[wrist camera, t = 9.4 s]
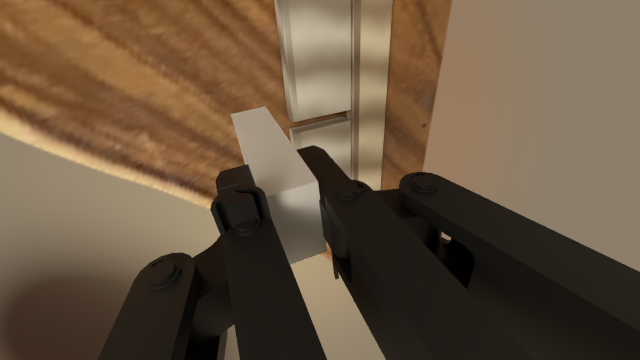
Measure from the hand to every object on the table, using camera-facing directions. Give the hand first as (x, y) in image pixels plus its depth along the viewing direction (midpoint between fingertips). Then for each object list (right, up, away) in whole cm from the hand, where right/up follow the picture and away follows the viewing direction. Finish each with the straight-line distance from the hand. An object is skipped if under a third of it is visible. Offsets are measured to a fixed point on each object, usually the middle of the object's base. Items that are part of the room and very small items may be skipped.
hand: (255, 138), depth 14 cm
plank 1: (+2, +13, +22) cm, 26 cm away
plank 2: (+3, 0, +30) cm, 30 cm away
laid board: (+9, +8, +28) cm, 31 cm away
